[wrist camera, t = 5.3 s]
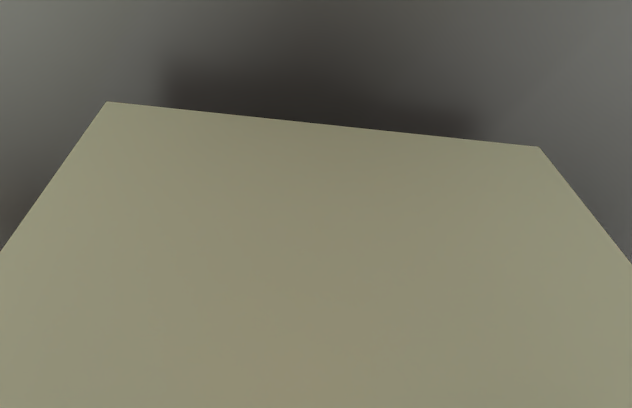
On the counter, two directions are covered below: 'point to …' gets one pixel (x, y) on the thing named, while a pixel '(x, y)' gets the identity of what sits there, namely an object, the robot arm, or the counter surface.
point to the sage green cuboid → (308, 273)
